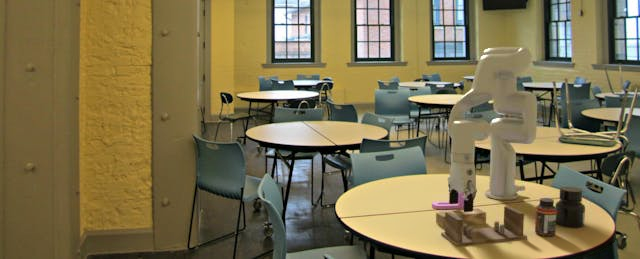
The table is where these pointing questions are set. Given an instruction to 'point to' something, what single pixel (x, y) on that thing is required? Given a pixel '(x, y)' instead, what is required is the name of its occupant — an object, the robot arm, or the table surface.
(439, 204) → the bracket
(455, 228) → the holder
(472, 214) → the plank
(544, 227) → the supplement bottle
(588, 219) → the table surface
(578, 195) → the ink bottle
